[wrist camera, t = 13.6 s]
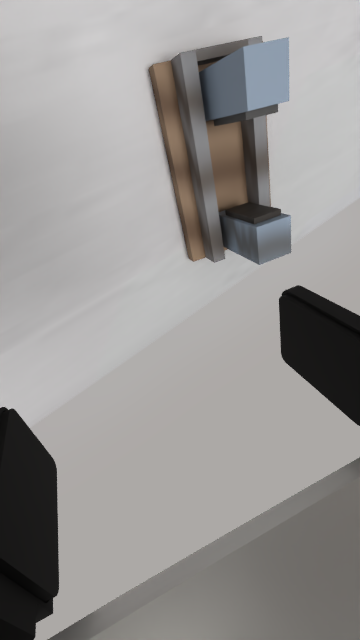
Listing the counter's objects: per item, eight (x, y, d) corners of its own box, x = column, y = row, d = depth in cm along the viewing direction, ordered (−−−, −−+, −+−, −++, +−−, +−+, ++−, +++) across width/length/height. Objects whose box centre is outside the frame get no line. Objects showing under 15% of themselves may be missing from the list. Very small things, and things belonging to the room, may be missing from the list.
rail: (148, 68, 29) (189, 30, 20) (254, 45, 31) (331, 2, 23) (188, 258, 40) (227, 286, 31) (265, 230, 42) (320, 249, 34)
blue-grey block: (194, 74, 29) (243, 46, 22) (230, 66, 30) (288, 37, 23) (202, 128, 32) (248, 119, 24) (235, 120, 33) (289, 109, 25)
